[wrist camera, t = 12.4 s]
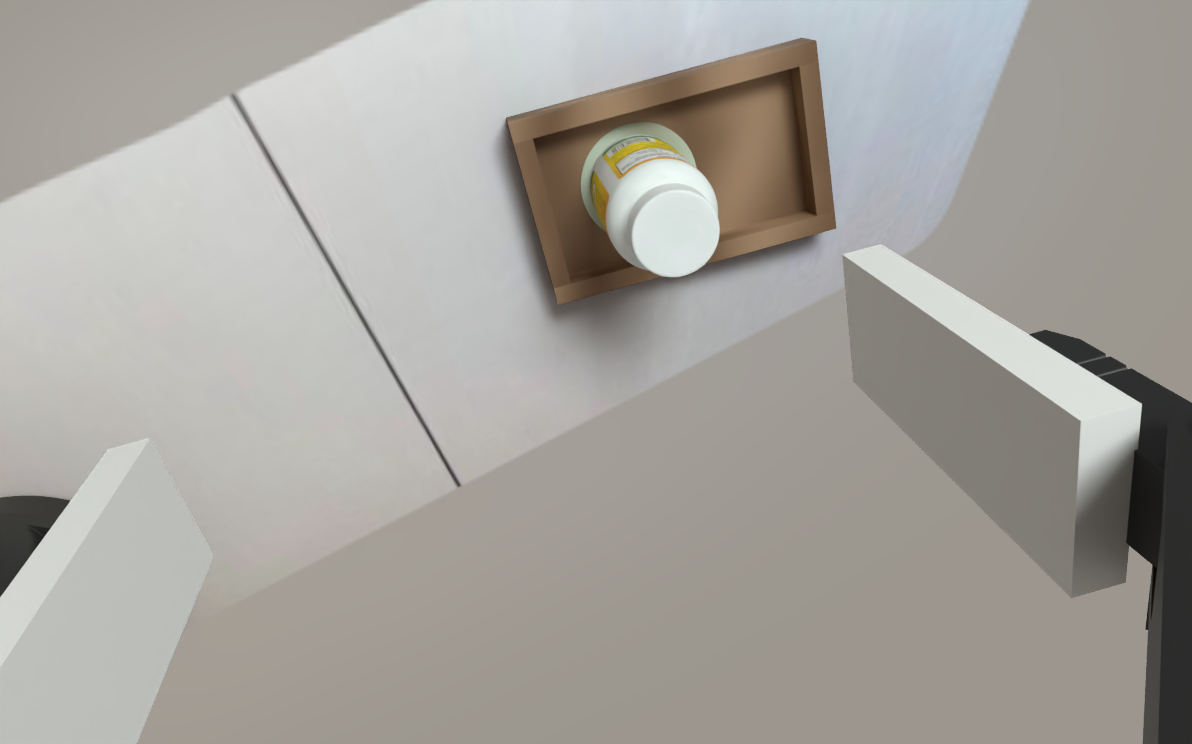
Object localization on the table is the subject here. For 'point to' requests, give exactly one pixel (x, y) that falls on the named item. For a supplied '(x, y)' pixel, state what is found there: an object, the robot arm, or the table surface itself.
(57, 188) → the table surface
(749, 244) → the tray
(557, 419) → the table surface
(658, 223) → the supplement bottle
